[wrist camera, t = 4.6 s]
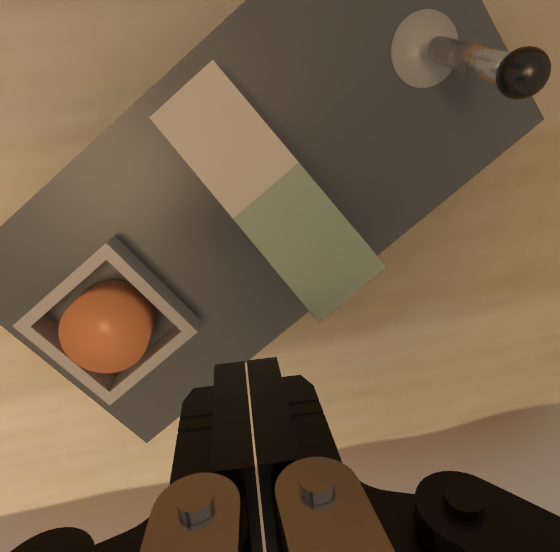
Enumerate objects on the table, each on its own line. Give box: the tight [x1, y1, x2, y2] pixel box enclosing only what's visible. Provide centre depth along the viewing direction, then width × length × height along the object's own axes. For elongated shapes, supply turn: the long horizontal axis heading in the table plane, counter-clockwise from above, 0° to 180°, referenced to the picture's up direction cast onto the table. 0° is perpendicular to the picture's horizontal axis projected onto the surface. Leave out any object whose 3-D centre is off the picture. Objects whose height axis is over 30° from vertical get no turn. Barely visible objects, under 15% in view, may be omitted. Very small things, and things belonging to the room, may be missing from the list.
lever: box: [425, 36, 551, 100], centre depth 16 cm, size 2×2×6 cm
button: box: [58, 280, 156, 373], centre depth 19 cm, size 4×4×2 cm
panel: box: [0, 0, 544, 443], centre depth 19 cm, size 12×25×4 cm, turn 130°
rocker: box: [149, 60, 386, 322], centre depth 16 cm, size 10×3×1 cm, turn 39°
